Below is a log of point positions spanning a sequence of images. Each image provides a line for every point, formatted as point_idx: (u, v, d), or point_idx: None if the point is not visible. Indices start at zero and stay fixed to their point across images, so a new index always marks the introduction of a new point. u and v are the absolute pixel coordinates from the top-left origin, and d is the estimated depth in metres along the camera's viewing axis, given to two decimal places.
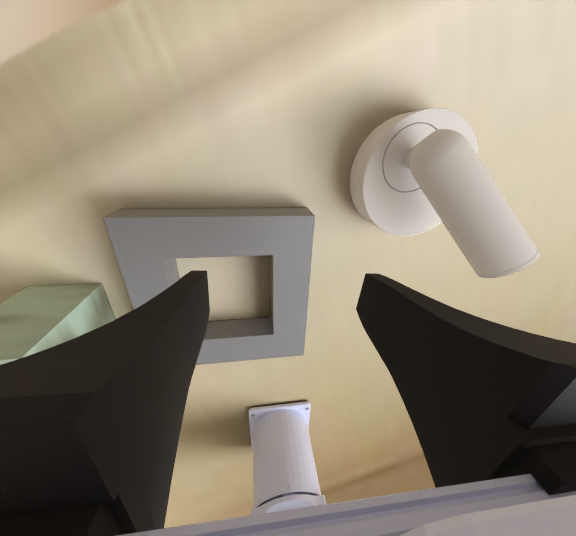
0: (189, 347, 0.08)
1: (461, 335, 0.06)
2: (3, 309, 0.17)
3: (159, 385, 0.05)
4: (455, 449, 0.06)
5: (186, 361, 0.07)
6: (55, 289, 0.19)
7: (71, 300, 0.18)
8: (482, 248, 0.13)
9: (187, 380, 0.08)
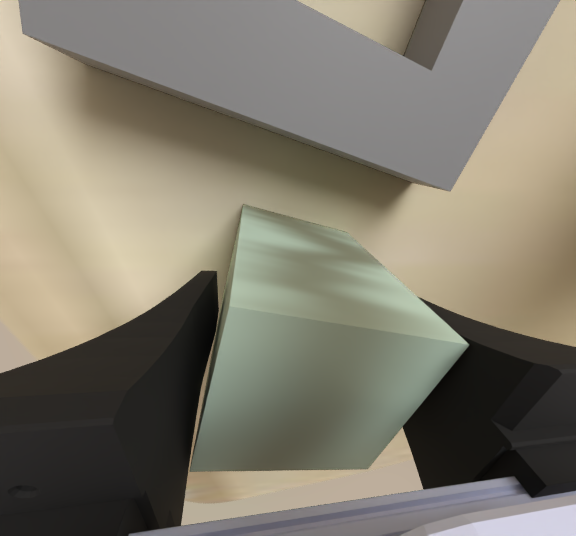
0: (201, 346, 0.08)
1: None
2: (217, 325, 0.10)
3: (178, 384, 0.05)
4: (441, 450, 0.06)
5: (199, 360, 0.08)
6: (229, 267, 0.12)
7: (236, 239, 0.09)
8: None
9: (200, 379, 0.08)
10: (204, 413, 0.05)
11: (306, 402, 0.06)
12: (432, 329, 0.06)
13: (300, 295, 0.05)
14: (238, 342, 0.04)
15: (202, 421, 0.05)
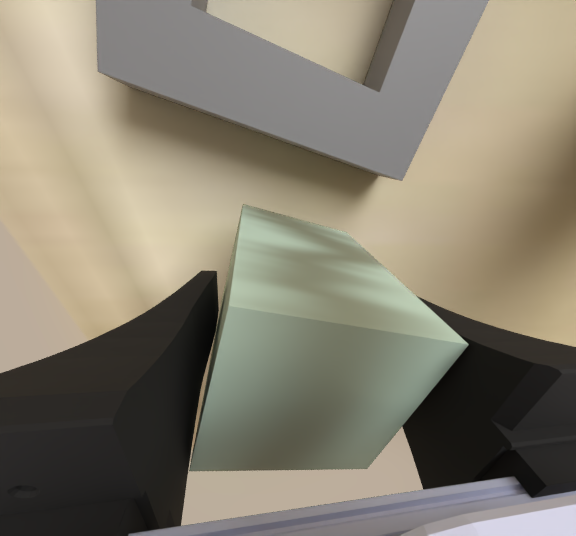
0: (201, 347, 0.08)
1: None
2: (217, 325, 0.10)
3: (178, 384, 0.05)
4: (441, 450, 0.06)
5: (199, 360, 0.08)
6: (229, 267, 0.12)
7: (236, 238, 0.09)
8: None
9: (199, 379, 0.08)
10: (204, 413, 0.05)
11: (306, 401, 0.06)
12: (431, 329, 0.06)
13: (300, 295, 0.05)
14: (238, 342, 0.04)
15: (202, 421, 0.05)
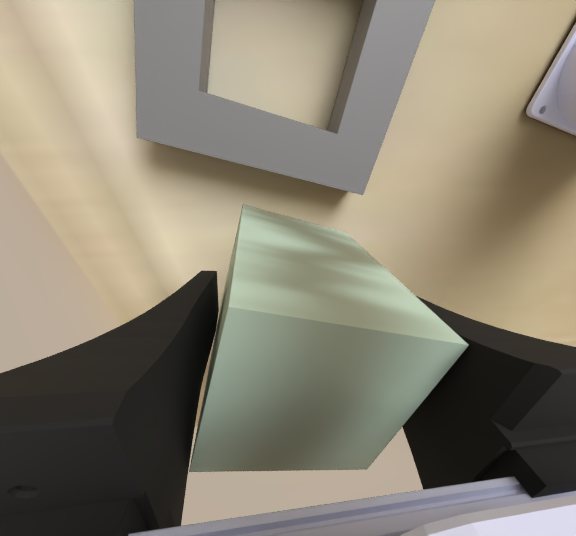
0: (201, 347, 0.08)
1: None
2: (217, 326, 0.10)
3: (178, 384, 0.05)
4: (441, 450, 0.06)
5: (199, 360, 0.08)
6: (229, 267, 0.12)
7: (236, 239, 0.09)
8: None
9: (199, 379, 0.08)
10: (204, 413, 0.05)
11: (306, 402, 0.06)
12: (431, 329, 0.06)
13: (300, 296, 0.05)
14: (238, 342, 0.04)
15: (202, 421, 0.05)
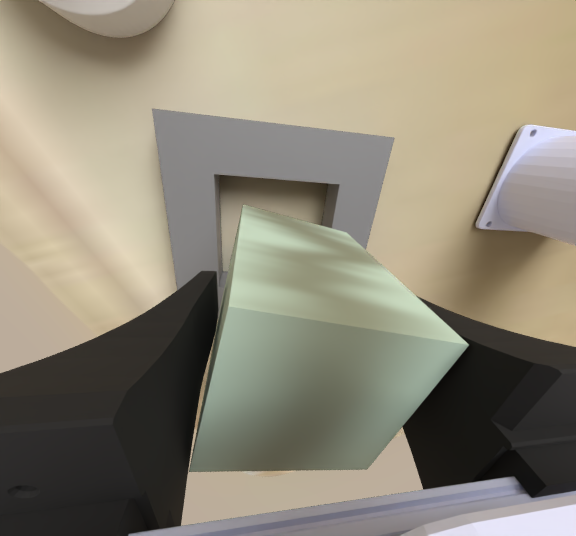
0: (201, 347, 0.08)
1: None
2: (217, 326, 0.10)
3: (178, 384, 0.05)
4: (441, 450, 0.06)
5: (199, 360, 0.08)
6: (229, 267, 0.12)
7: (236, 239, 0.09)
8: None
9: (199, 379, 0.08)
10: (203, 413, 0.05)
11: (306, 402, 0.06)
12: (432, 329, 0.06)
13: (300, 295, 0.05)
14: (238, 342, 0.04)
15: (201, 421, 0.05)
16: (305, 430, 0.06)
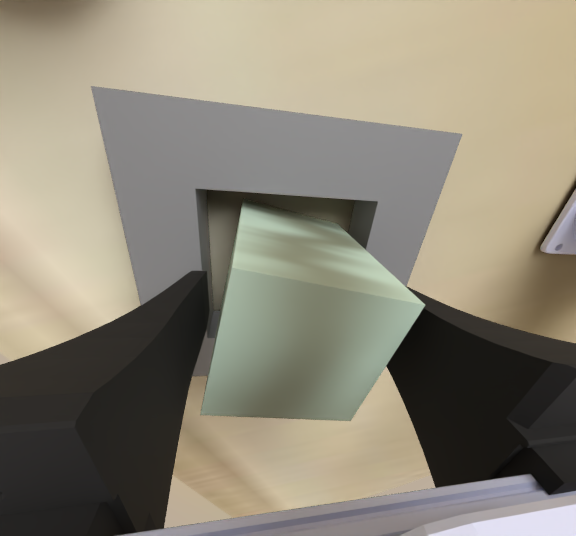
0: (189, 347, 0.08)
1: (461, 336, 0.06)
2: (221, 305, 0.12)
3: (159, 385, 0.05)
4: (455, 449, 0.06)
5: (186, 361, 0.07)
6: (231, 255, 0.13)
7: (237, 227, 0.11)
8: None
9: (187, 380, 0.08)
10: (212, 360, 0.07)
11: (294, 352, 0.07)
12: (395, 293, 0.07)
13: (288, 265, 0.06)
14: (239, 298, 0.06)
15: (211, 367, 0.07)
16: (295, 379, 0.07)
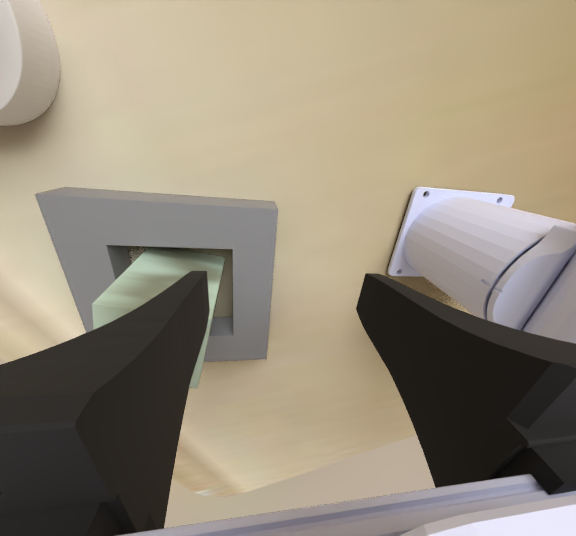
0: (189, 347, 0.08)
1: (461, 335, 0.06)
2: None
3: (159, 385, 0.05)
4: (455, 449, 0.06)
5: (186, 361, 0.07)
6: None
7: None
8: None
9: (187, 380, 0.08)
10: None
11: None
12: None
13: (133, 299, 0.12)
14: (100, 317, 0.12)
15: None
16: None
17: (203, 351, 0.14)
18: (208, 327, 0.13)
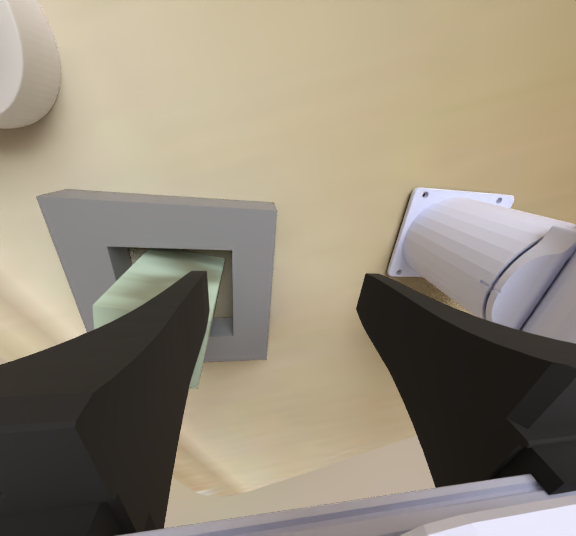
0: (189, 347, 0.08)
1: (461, 335, 0.06)
2: None
3: (159, 385, 0.05)
4: (455, 449, 0.06)
5: (186, 361, 0.07)
6: None
7: None
8: None
9: (187, 380, 0.08)
10: None
11: None
12: None
13: (133, 300, 0.12)
14: (100, 318, 0.12)
15: None
16: None
17: (203, 352, 0.14)
18: (207, 328, 0.13)
